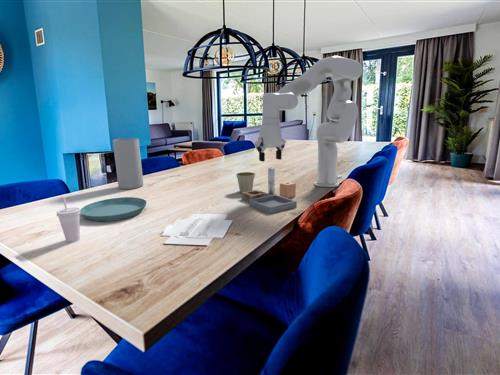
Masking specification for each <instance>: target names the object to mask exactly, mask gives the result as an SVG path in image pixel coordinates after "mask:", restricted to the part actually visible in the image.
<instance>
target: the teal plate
mask: <svg viewBox="0 0 500 375" xmlns="http://www.w3.org/2000/svg"><path fill="white" fill-rule="evenodd" d="M146 206H147V200H146V199H144V198H140V197H134V196H127V197H124V196H122V197H115V198H108V199H107V198H106V199H101V200H97V201H94V202H91V203H88V204H86V205H85V206H83V207H82V208H80V213H79V214H81V215H82V216H83V217H84V218H85V219H88V220H90V221H95V222H112V221H120V220H125V219H128V218H131V217H132V218H133V217H134V216H136V215H138V214H140V213H141V212H142V211H143V210H145V208H146Z"/></svg>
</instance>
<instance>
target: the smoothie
mask: <svg viewBox="0 0 500 375" xmlns="http://www.w3.org/2000/svg"><path fill="white" fill-rule="evenodd" d="M62 199H63V205H64V208H62V209H59V210H57V211H56V216H57V218H58V220H59V223H60V226H61V228H62V233H63V235H64V238H65V241H66V242H65V243H76V242H77V241H80V239H81V234H80V230H81V229H80V227H81V226H80V214H81V213H80V210H81V208H79V207H68V205H67V200H66V196H63V197H62Z"/></svg>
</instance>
